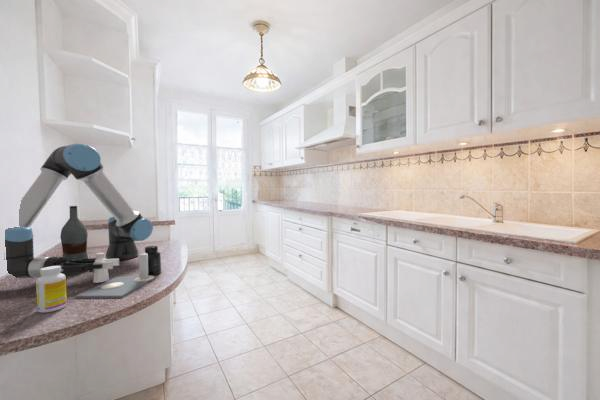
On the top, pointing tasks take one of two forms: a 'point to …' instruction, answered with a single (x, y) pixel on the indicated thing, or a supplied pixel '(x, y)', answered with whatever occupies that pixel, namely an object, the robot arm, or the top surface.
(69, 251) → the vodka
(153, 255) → the supplement bottle
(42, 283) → the supplement bottle
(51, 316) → the top surface
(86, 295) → the board
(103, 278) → the pepper shaker
